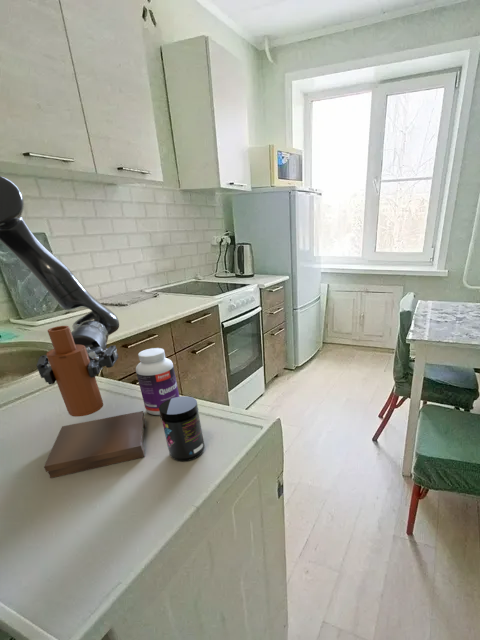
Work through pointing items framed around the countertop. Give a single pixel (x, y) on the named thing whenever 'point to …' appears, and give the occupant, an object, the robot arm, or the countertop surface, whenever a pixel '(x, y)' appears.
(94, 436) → the brown wooden box
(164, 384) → the pill bottle
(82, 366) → the bottle
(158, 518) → the countertop surface
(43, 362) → the robot arm
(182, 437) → the supplement container
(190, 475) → the countertop surface
